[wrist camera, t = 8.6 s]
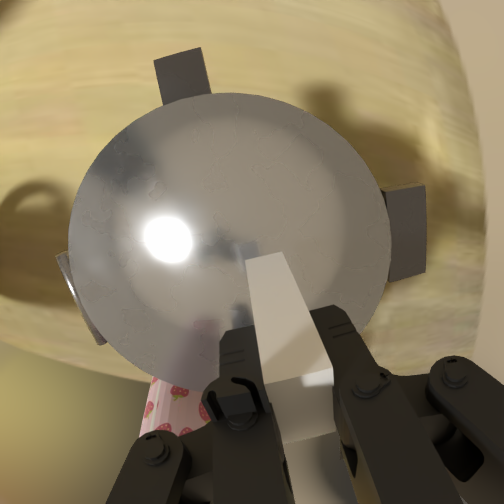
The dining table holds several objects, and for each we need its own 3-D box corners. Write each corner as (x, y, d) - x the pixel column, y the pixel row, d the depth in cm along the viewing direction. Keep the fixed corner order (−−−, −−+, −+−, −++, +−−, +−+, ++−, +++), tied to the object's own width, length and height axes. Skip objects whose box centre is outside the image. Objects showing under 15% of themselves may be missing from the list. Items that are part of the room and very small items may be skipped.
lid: (31, 162, 13) (1, 171, 10) (398, 72, 12) (427, 64, 10) (134, 394, 19) (125, 422, 17) (410, 340, 18) (428, 365, 16)
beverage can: (191, 372, 31) (180, 495, 17) (151, 342, 29) (117, 467, 15) (229, 346, 30) (233, 478, 16) (188, 312, 28) (166, 448, 14)
